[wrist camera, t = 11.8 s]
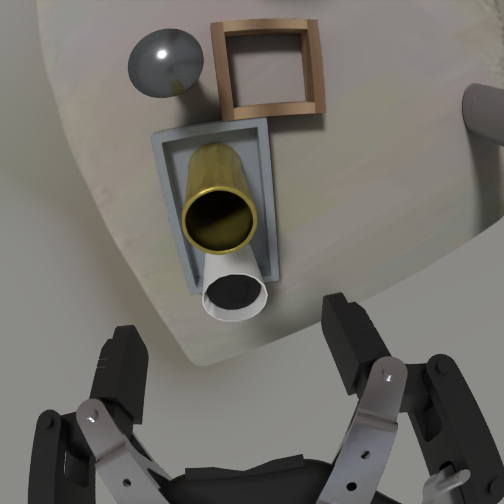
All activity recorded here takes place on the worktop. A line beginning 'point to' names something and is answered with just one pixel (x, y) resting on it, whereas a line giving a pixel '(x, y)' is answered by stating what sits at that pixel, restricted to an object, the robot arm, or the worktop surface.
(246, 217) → the vase
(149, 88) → the knob post
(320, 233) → the worktop surface
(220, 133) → the tray
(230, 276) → the white cup
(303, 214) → the worktop surface
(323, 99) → the holder
